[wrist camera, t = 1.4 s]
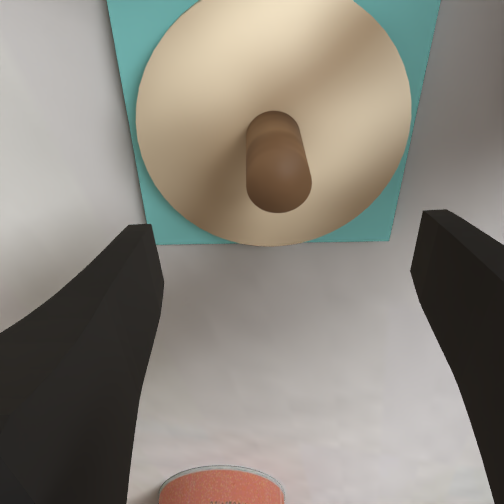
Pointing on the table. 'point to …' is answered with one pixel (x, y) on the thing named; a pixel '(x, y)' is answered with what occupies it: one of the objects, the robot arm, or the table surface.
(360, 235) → the mat
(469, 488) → the table surface
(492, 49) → the table surface
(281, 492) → the canned food
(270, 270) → the table surface
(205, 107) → the cover
